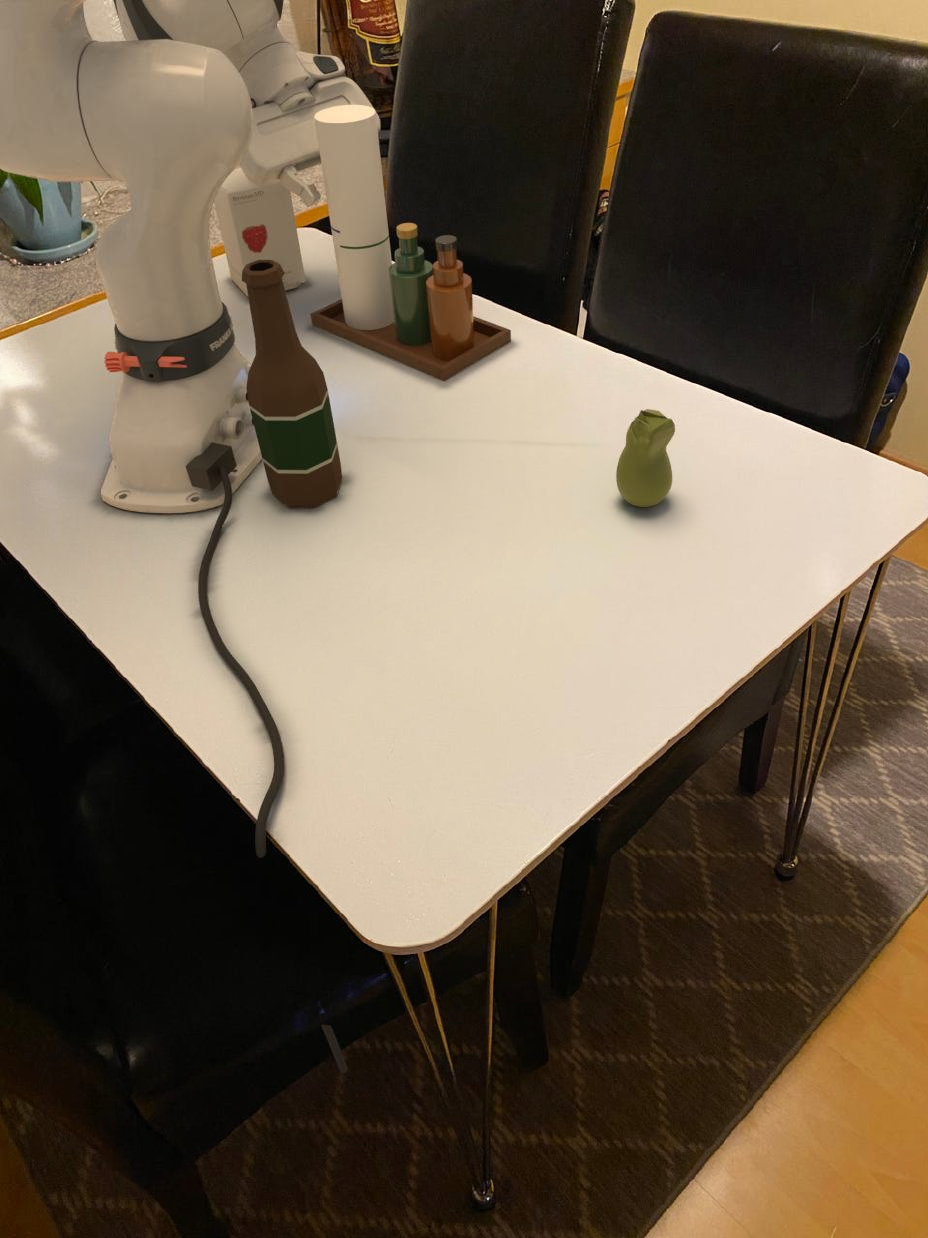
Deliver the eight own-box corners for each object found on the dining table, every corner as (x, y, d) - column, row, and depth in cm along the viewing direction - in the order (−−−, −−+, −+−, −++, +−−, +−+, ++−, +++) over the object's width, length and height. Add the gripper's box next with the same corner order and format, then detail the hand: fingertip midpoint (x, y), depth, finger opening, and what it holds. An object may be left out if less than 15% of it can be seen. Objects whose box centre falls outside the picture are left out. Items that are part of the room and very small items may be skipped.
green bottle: (434, 345, 115) (425, 235, 105) (392, 345, 116) (379, 235, 106) (440, 325, 119) (432, 217, 109) (400, 325, 120) (388, 217, 110)
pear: (638, 478, 94) (646, 393, 87) (680, 498, 91) (692, 412, 84) (604, 502, 91) (610, 416, 84) (646, 524, 88) (656, 437, 81)
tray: (511, 344, 116) (511, 329, 114) (444, 385, 109) (443, 369, 108) (379, 295, 128) (378, 280, 127) (312, 328, 122) (310, 313, 120)
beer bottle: (266, 476, 97) (211, 256, 81) (336, 461, 99) (296, 241, 82) (277, 517, 92) (221, 290, 75) (351, 501, 93) (312, 274, 77)
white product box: (249, 301, 129) (224, 192, 118) (230, 279, 134) (205, 173, 124) (308, 285, 131) (289, 177, 121) (287, 264, 137) (267, 159, 127)
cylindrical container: (377, 300, 125) (353, 100, 108) (408, 317, 121) (387, 112, 104) (335, 317, 122) (302, 114, 105) (364, 335, 118) (335, 126, 101)
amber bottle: (472, 361, 112) (466, 248, 102) (428, 360, 113) (418, 248, 103) (477, 339, 116) (472, 229, 106) (435, 339, 116) (426, 229, 107)
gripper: (216, 94, 102) (287, 201, 104) (348, 53, 112) (411, 151, 114) (203, 130, 108) (270, 231, 109) (331, 88, 118) (390, 181, 120)
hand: (343, 190), depth 112 cm, fingers open, 8 cm apart
